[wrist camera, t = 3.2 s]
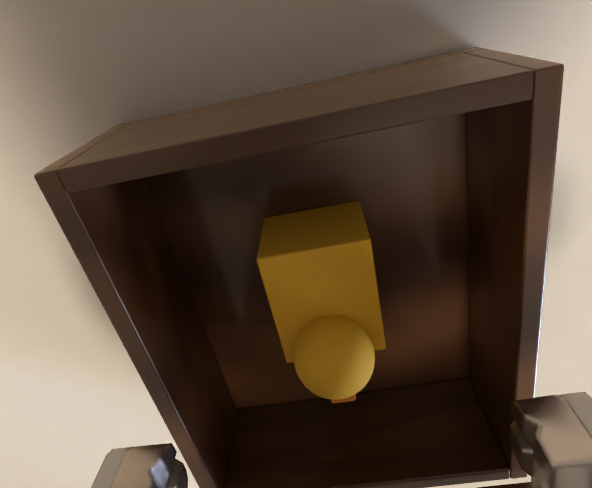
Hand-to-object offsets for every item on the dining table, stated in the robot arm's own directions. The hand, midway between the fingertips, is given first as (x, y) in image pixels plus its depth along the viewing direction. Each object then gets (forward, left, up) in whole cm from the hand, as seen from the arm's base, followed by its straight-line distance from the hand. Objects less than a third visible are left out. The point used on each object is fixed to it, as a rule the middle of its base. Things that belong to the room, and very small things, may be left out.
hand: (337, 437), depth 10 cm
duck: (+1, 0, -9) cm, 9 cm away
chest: (+1, 0, -10) cm, 10 cm away
